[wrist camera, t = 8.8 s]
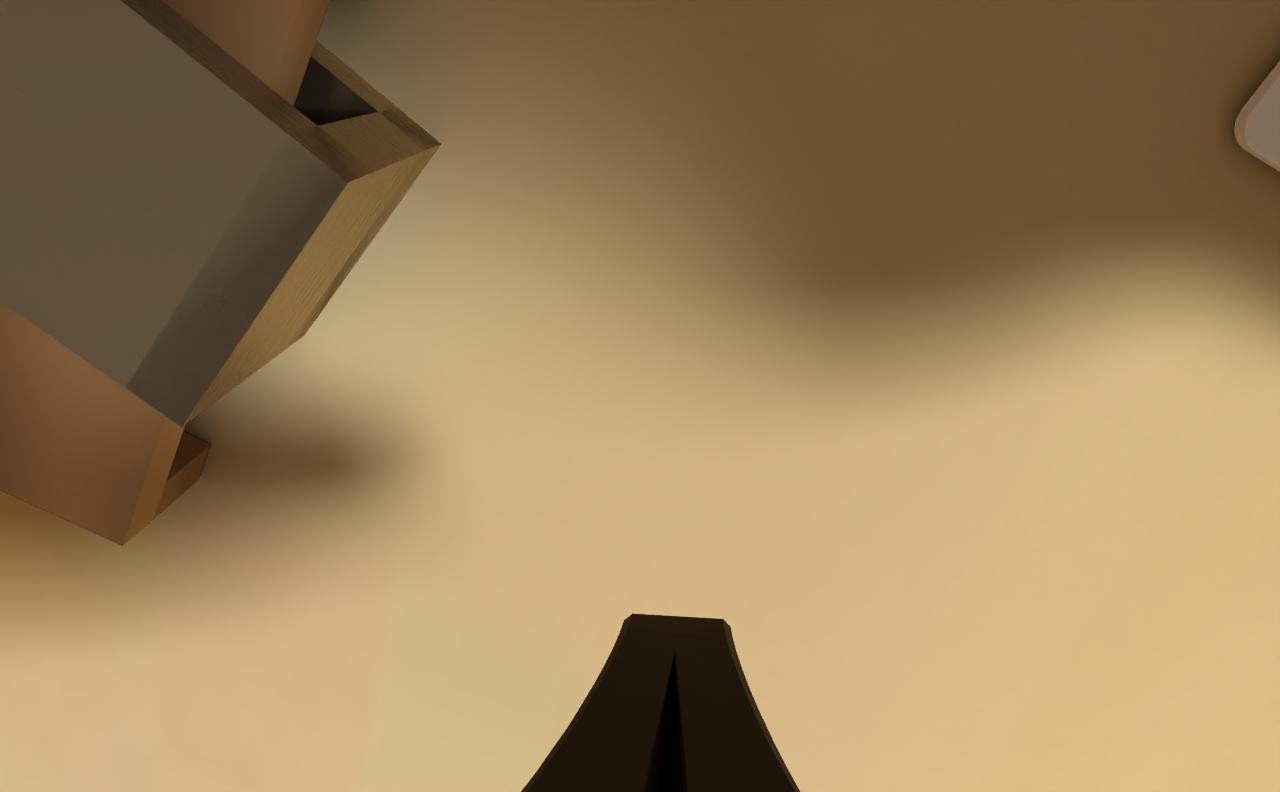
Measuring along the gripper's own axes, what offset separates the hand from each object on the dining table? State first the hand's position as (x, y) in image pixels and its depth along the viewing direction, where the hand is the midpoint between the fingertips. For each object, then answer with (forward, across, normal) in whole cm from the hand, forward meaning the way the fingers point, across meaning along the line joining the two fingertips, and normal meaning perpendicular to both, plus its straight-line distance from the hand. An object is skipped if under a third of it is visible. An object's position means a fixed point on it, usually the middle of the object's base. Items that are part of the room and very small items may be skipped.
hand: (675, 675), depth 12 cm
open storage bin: (+7, +8, -6) cm, 12 cm away
